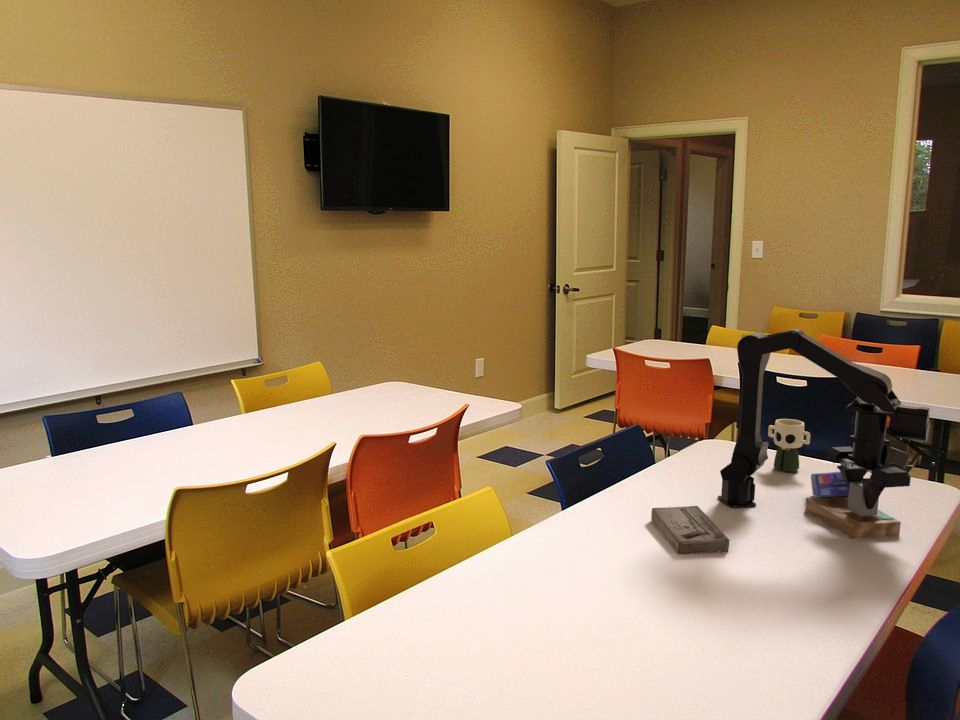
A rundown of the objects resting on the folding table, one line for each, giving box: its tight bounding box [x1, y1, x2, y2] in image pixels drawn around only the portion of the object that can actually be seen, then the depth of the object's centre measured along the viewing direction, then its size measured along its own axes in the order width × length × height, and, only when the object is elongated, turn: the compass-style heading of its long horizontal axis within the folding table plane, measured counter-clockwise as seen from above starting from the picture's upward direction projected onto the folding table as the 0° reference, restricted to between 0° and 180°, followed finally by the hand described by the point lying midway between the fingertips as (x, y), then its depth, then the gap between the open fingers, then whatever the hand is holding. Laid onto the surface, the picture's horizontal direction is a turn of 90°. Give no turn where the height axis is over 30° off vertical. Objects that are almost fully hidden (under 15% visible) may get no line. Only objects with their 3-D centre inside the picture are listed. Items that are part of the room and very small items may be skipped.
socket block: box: [805, 496, 902, 540], centre depth 160 cm, size 11×16×3 cm
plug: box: [847, 481, 880, 516], centre depth 155 cm, size 4×4×6 cm
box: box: [650, 505, 730, 555], centre depth 153 cm, size 11×17×3 cm, turn 5°
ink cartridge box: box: [810, 471, 849, 497], centre depth 169 cm, size 10×6×14 cm
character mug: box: [767, 418, 811, 472], centre depth 195 cm, size 11×7×13 cm, turn 45°
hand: (862, 505), depth 156 cm, fingers closed on plug, 4 cm apart
